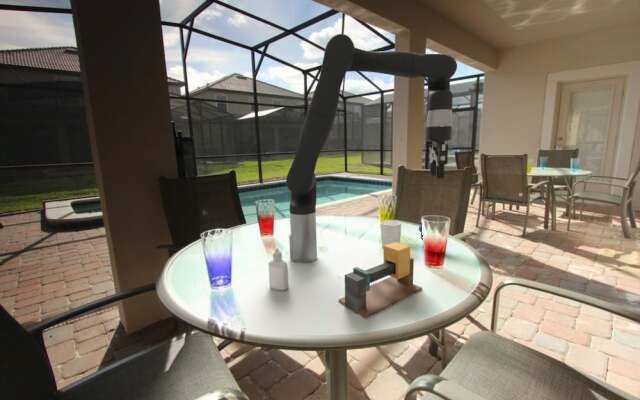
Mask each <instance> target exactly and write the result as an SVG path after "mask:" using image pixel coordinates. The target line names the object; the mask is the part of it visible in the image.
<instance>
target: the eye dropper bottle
mask: <svg viewBox="0 0 640 400" xmlns="http://www.w3.org/2000/svg"><path fill="white" fill-rule="evenodd" d="M288 268H289V266H288V263H287V262H286V261H285V260H284V259H283V256H282V251H280V249H279V247H275V251H273V252H272V260H270V261H269V262H268V279H269V287H270V288H271V289H273V290H276V291H285V290H287V289H289V286H290V285H289V283H290V282H289V269H288Z"/></svg>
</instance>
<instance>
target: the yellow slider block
mask: <svg viewBox="0 0 640 400" xmlns="http://www.w3.org/2000/svg"><path fill="white" fill-rule="evenodd" d="M410 258H411V246H410V245H407V244H405V243H401V242H400V243H397V242H394V243H391V244H388V245H385V246H384V248H383V263H386V262H389V261H390V262H393V263H396V272H395V273H393V274H391V275H388V276H389V277H394V278H396V279H399V278H402V277H404V276H406V275H408V274H409V272H410Z"/></svg>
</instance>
